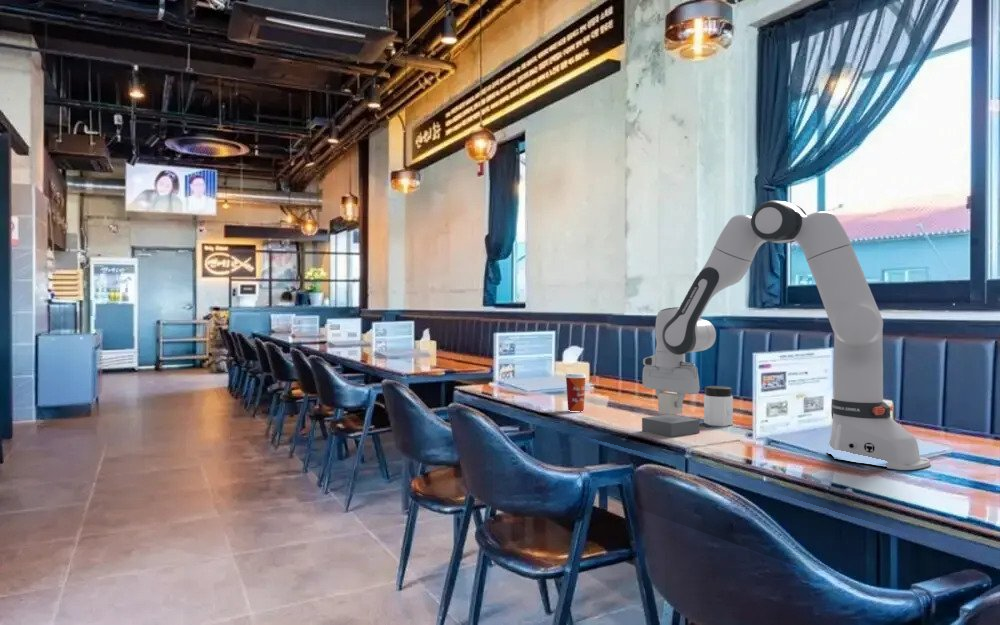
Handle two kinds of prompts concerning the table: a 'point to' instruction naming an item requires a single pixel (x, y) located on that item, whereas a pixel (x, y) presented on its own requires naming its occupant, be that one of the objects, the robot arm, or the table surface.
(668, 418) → the block
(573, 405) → the paper cup
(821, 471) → the table surface
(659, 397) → the block
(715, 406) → the jar
